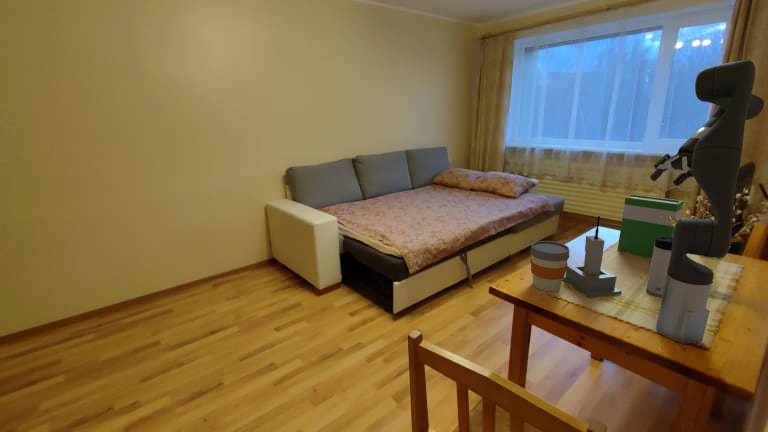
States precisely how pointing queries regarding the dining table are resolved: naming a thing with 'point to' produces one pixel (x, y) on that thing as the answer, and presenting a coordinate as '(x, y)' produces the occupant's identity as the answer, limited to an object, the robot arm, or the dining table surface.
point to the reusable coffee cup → (548, 264)
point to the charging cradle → (591, 282)
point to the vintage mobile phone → (593, 253)
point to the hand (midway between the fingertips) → (663, 181)
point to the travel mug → (659, 266)
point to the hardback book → (646, 223)
